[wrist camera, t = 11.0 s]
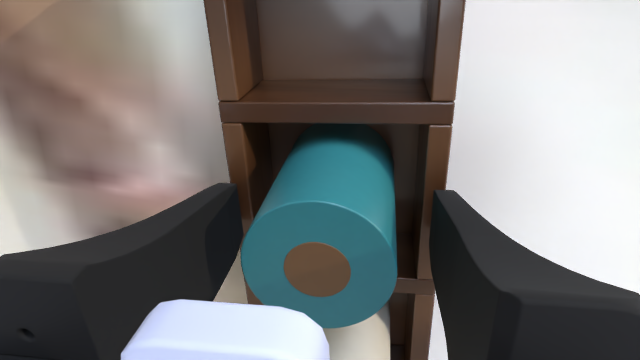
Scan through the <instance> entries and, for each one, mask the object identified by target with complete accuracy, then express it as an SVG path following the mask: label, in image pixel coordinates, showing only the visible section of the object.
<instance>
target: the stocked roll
mask: <svg viewBox="0 0 640 360" xmlns="http://www.w3.org/2000/svg"><path fill="white" fill-rule="evenodd" d="M322 329H323V331H324V334H325V336H326V339H327V341H328V344H329V355H330V360H390V298H389V300H388V301H387V303H386V304H385V305H384V306H383V307H382V308H381V309H380V310H379V311H378V312H377V313H375V314H374V315H373V316H371V317H370V318H368V319H366V320H364V321H362V322H360V323H357V324H354V325H351V326H347V327H341V328H330V329H327V328H322Z"/></svg>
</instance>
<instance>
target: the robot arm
mask: <svg viewBox="0 0 640 360" xmlns="http://www.w3.org/2000/svg"><path fill="white" fill-rule="evenodd" d="M243 236H244V233H243V226H242V219H241V212H240V204H239V197H238V190H237V184H233V183H218V184H216V185H213V186H211V187H209V188H207V189H205V190H203V191H201V192H199V193H197V194H195V195H193V196H191V197H190V198H188V199H186V200H184V201H182V202H180V203H178V204H176V205H174V206H172V207H170V208H168V209H166V210H164V211H162V212H160V213H158V214H156V215H154V216H152V217H149V218H147V219H145V220H142V221H140V222H138V223H135V224H132V225H130V226H127V227H124V228H122V229H119V230H116V231H112V232H109V233H106V234H103V235H99V236H96V237H93V238H89V239H86V240H82V241H78V242H73V243H69V244H64V245H60V246H55V247H50V248H45V249H38V250H32V251H25V252H19V253H12V254H4V255H2V256H1V257H0V360H330V355H329V344H328V341H327V339H326V336H325V334H324V331H323V329H322V327H321V326H319V325H318V324H317V323H316V322H314V321H313V320H312V319H311V318H309V317H308V316H307V315H306V314H304V313H302V312H298V311H295V310H291V309H287V308H284V307H279V306H265V305H252V304H238V303H225V302H213V300H214V298H215V296H216V295H217V293H218V291H219V289H220V287H221V285H222V283H223V282H224V280H225V278H226V276H227V274H228V272H229V270H230V268H231V266H232V265H233V263H234V261H235V259H236V256H237V253H238V250H239V248H240V245H241V242H242V239H243ZM429 253H430V265H431V272H432V277H433V282H434V286H435V291H436V295H437V299H438V304H439V308H440V312H441V317H442V321H443V326H444V331H445V337H446V343H447V352H448V360H640V295H639V293H636V292H633V291H629V290H626V289H623V288H620V287H616V286H613V285H610V284H607V283H604V282H600V281H597V280H595V279H592V278H589V277H587V276H584V275H581V274H579V273H576V272H574V271H571V270H569V269H567V268H564V267H562V266H560V265H558V264H556V263H554V262H551V261H549V260H547V259H545V258H543V257H541V256H539V255H538V254H536V253H534V252H532V251H530V250H529V249H527V248H525V247H524V246H522V245H520V244H519V243H517V242H515V241H514V240H512V239H511V238H509V237H508V236H506V235H505V234H504V233H502V232H501V231H500V230H498V229H497V228H496V227H494V226H493V225H492V224H491V223H489V222H488V221H487V220H486V219H484V218H483V217H482V216H481V215H480V214H479V213H478V212H476V211H475V210H474V209H473V208H472V207H471V206H470V205H469V204H468V203H467V202H466V201H465V200H464V199H463V198H462V197H460V196H459V195H458V194H457V193H456V192H455V191H454V190H434V192H433V203H432V214H431V225H430V236H429Z"/></svg>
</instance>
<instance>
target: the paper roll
mask: <svg viewBox="0 0 640 360" xmlns="http://www.w3.org/2000/svg"><path fill="white" fill-rule="evenodd" d="M241 266H242V270H243V274H244V277H245V279H246V282H247V284H248V285H249V287H250V289H251V290H252V292H253V293H254V295H255V296H256V297H257V298H258V299H259V300H260V301H261V302H262V303H263V304H264V305H265V306H279V307H284V308H287V309H291V310H295V311H298V312H302V313H304V314H306V315H307V316H308V317H309V318H311V319H312V320H313V321H314V322H316V323H317V324H318V325H319V326H321V327H322V328H327V329H330V328H341V327H347V326H351V325H354V324H357V323H360V322H362V321H364V320H366V319H368V318H370V317H371V316H373V315H374V314H375V313H377V312H378V311H379V310H380V309H381V308H382V307H383V306H384V305H385V304H386V303H387V301H388V300H389V298H390V297H391V295H392V293H393V291H394V288H395V285H396V281H397V243H396V213H395V184H394V162H393V157H392V154H391V151H390V149H389V147H388V145H387V143H386V142H385V140H384V139H383V138H382V137H381V136H380V135H379V134H378V133H377V132H376V131H375V130H374V129H372V128H371V127H369V126H367V125H365V124H314V125H312V126H311V127H309V128H308V129H306V130H305V131H304V132H303V133H302V134H301V135H300V136H299V137H298V139H297V140H296V142H295V144H294V145H293V147H292V149H291V151H290V153H289V155H288V157H287V158H286V160H285V162H284V164H283V166H282V168H281V170H280V172H279V173H278V175H277V177H276V179H275V181H274V183H273V185H272V186H271V188H270V190H269V192H268V194H267V196H266V198H265V200H264V201H263V203H262V205H261V207H260V209H259V211H258V213H257V214H256V216H255V218H254V220H253V222H252V224H251V226H250V228H249V229H248V231H247V233H246V235H245V238H244V240H243V244H242V248H241Z"/></svg>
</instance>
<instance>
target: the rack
mask: <svg viewBox="0 0 640 360" xmlns="http://www.w3.org/2000/svg"><path fill="white" fill-rule="evenodd" d="M465 2H466V0H204V7H205V13H206V20H207V27H208V34H209V41H210V47H211V54H212V61H213V68H214V75H215V81H216V88H217V95H218V100H219V110H220V117H221V122H223V123H222V129H223V136H224V143H225V150H226V157H227V163H228V170H229V177H230V183H233V184H237V190H238V197H239V204H240V212H241V219H242V226H243V233H244V236H243V239H242V242H241V245H240V252H241V248H242V244H243V240H244V238H245V235H246V233H247V231H248V229H249V228H250V226H251V224H252V222H253V220H254V218H255V216H256V214H257V213H258V211H259V209H260V207H261V205H262V203H263V201H264V200H265V198H266V196H267V194H268V192H269V190H270V188H271V186H272V185H273V183H274V181H275V179H276V177H277V175H278V173H279V172H280V170H281V168H282V166H283V164H284V162H285V160H286V158H287V157H288V155H289V153H290V151H291V149H292V147H293V145H294V144H295V142H296V140H297V139H298V137H299V136H300V135H301V134H302V133H303V132H304V131H305V130H306V129H308V128H309V127H311V126H312V125H314V124H365V125H367V126H369V127H371V128H372V129H374V130H375V131H376V132H377V133H378V134H379V135H380V136H381V137H382V138H383V139H384V140H385V142H386V143H387V145H388V147H389V149H390V151H391V154H392V157H393V162H394V184H395V213H396V243H397V281H396V285H395V288H394V291H393V293H392V295H391V297H390V360H428V354H429V345H430V335H431V326H432V316H433V307H434V297H435V295H434V294H435V286H434V282H433V277H432V272H431V265H430V253H429V236H430V225H431V214H432V203H433V192H434V190H446V183H447V173H448V164H449V154H450V145H451V135H452V125H451V124H452V123H453V116H454V107H455V103H454V100H455V97H456V87H457V78H458V68H459V59H460V49H461V40H462V30H463V21H464V11H465ZM244 280H245V286H246V293H247V300H248V304H252V305H264V304H263V303H262V302H261V301H260V300H259V299H258V298H257V297H256V296H255V295H254V293H253V292H252V290H251V289H250V287H249V285H248V284H247V282H246V279H245V277H244Z"/></svg>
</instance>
